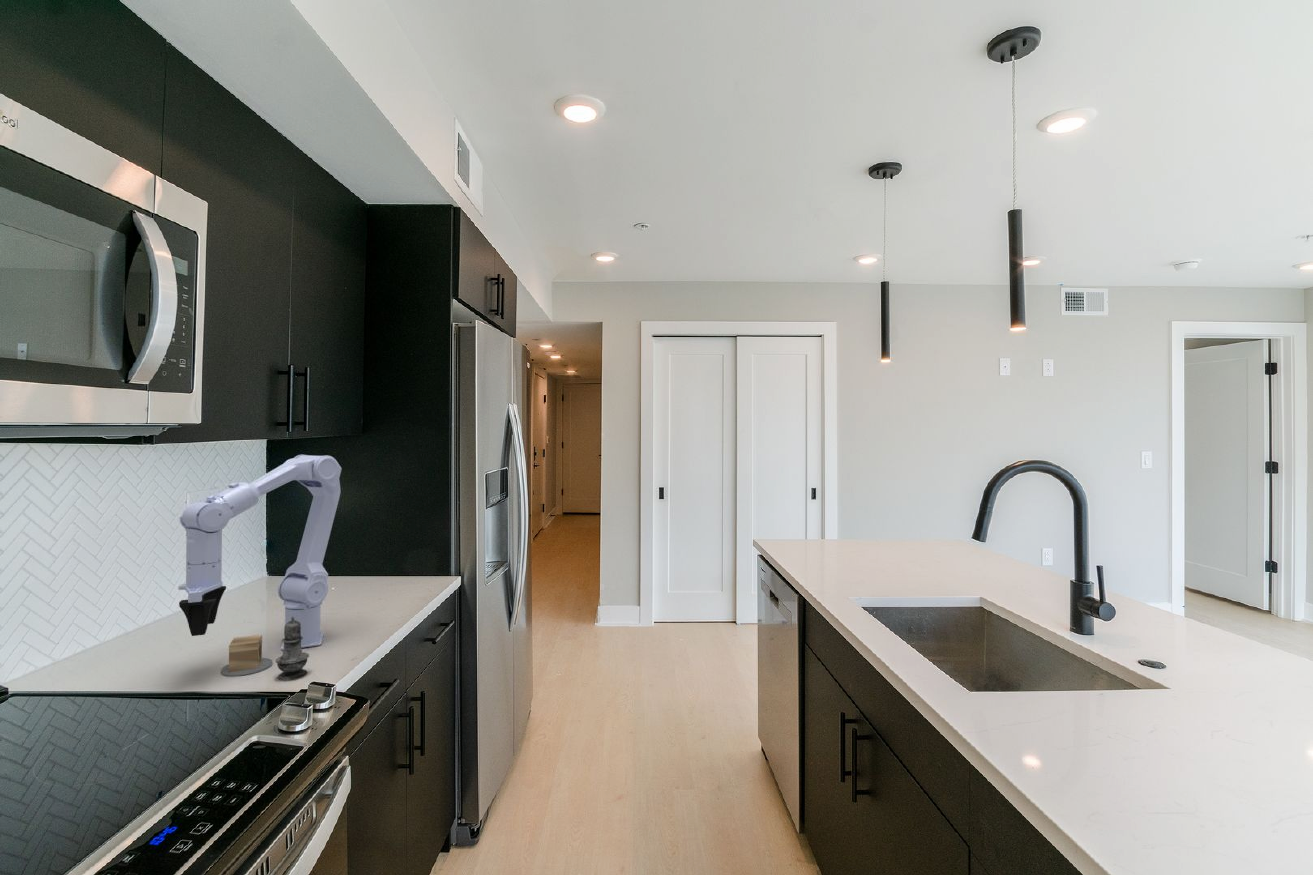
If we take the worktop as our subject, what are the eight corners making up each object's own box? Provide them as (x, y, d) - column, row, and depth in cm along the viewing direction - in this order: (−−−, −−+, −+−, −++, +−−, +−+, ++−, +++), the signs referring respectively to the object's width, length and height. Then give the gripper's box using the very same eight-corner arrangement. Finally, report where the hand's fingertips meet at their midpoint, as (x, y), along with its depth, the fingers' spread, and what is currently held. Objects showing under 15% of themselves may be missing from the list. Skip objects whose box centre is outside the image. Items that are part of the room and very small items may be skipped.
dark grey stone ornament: (293, 682, 118) (293, 622, 118) (268, 679, 119) (268, 619, 119) (315, 670, 124) (316, 613, 124) (291, 668, 125) (291, 611, 125)
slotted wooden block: (234, 663, 126) (234, 637, 126) (262, 659, 128) (262, 634, 128) (228, 672, 122) (228, 645, 122) (257, 668, 124) (258, 641, 124)
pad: (225, 663, 127) (225, 661, 127) (275, 656, 131) (275, 655, 131) (215, 679, 119) (216, 677, 119) (269, 671, 123) (269, 669, 123)
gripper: (189, 556, 125) (188, 621, 125) (168, 571, 112) (167, 643, 112) (229, 554, 128) (229, 617, 128) (214, 567, 115) (213, 638, 115)
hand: (203, 629), depth 121 cm, fingers open, 7 cm apart
